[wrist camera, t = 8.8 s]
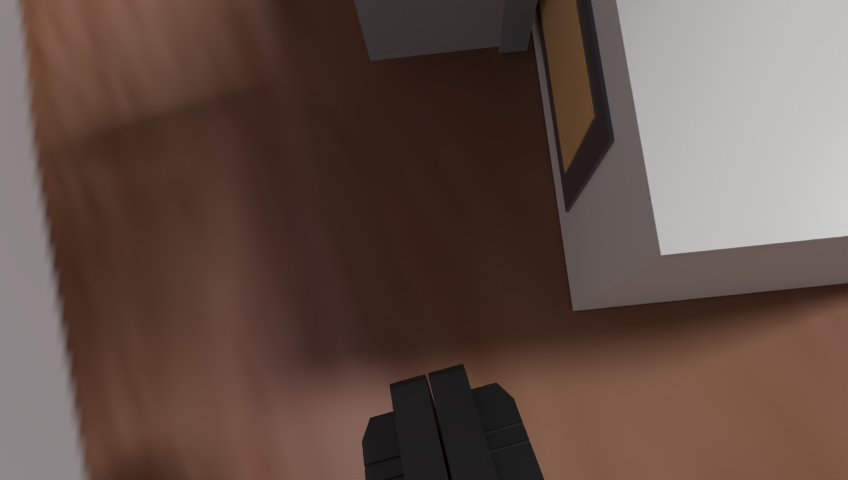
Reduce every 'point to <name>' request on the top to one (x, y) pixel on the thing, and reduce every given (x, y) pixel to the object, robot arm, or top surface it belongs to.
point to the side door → (443, 26)
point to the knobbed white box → (696, 145)
